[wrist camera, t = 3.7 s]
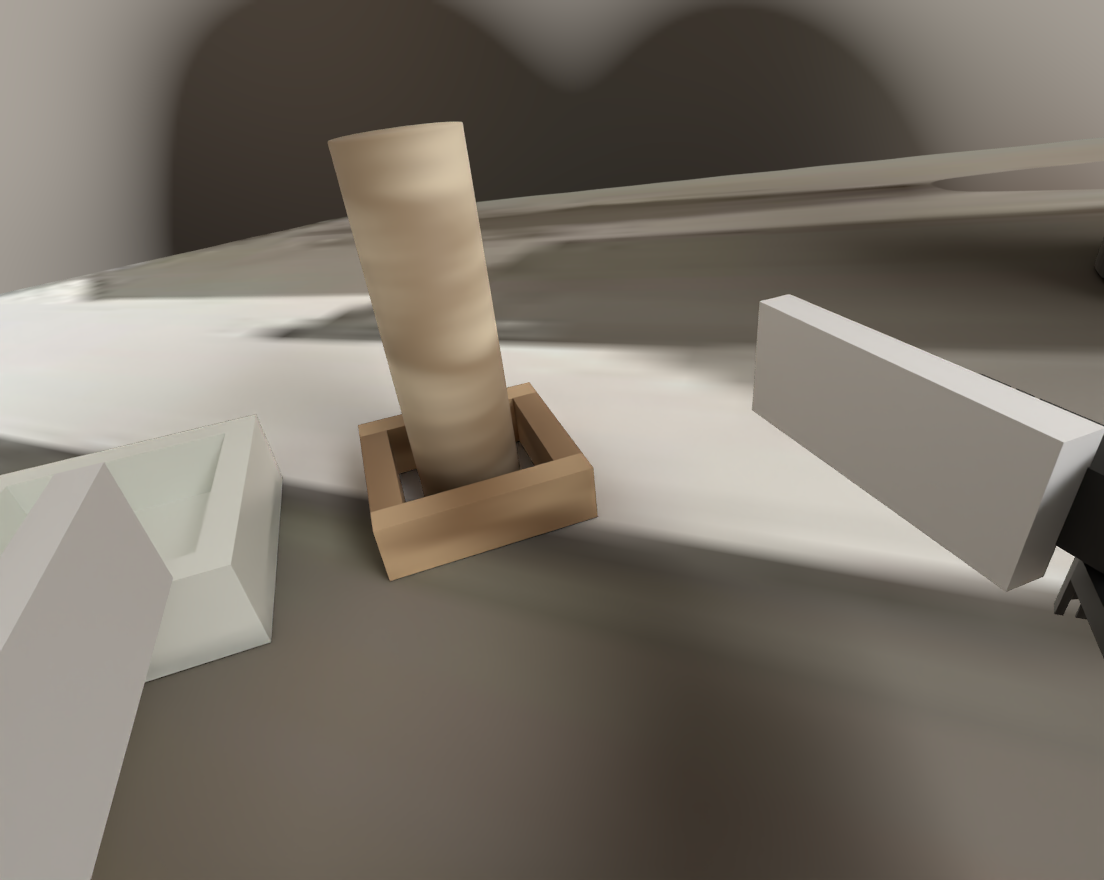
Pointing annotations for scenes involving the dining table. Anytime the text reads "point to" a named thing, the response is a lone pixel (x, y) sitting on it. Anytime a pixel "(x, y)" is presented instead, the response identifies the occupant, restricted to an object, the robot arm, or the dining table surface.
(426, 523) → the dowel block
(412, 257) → the dowel
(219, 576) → the tray
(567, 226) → the dining table surface
